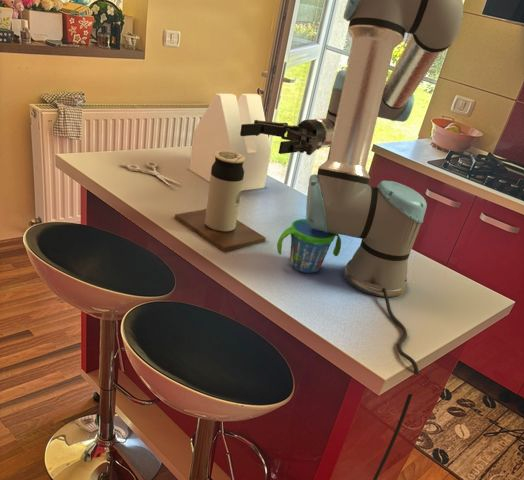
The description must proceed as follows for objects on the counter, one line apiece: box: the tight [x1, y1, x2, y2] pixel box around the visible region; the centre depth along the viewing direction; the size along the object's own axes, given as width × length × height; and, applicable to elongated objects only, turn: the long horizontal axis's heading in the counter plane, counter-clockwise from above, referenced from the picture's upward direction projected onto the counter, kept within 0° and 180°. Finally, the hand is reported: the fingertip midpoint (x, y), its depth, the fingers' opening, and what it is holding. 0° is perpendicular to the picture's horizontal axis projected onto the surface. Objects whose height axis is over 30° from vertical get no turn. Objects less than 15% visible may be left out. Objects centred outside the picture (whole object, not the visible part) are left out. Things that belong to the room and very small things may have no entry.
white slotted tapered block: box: [189, 93, 272, 192], centre depth 166 cm, size 19×15×25 cm
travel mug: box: [205, 151, 245, 231], centre depth 135 cm, size 8×8×18 cm
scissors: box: [120, 161, 180, 187], centre depth 163 cm, size 11×1×20 cm
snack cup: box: [276, 218, 342, 274], centre depth 130 cm, size 16×10×10 cm
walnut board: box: [174, 208, 266, 253], centre depth 141 cm, size 20×14×1 cm
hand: (260, 138), depth 134 cm, fingers open, 13 cm apart
